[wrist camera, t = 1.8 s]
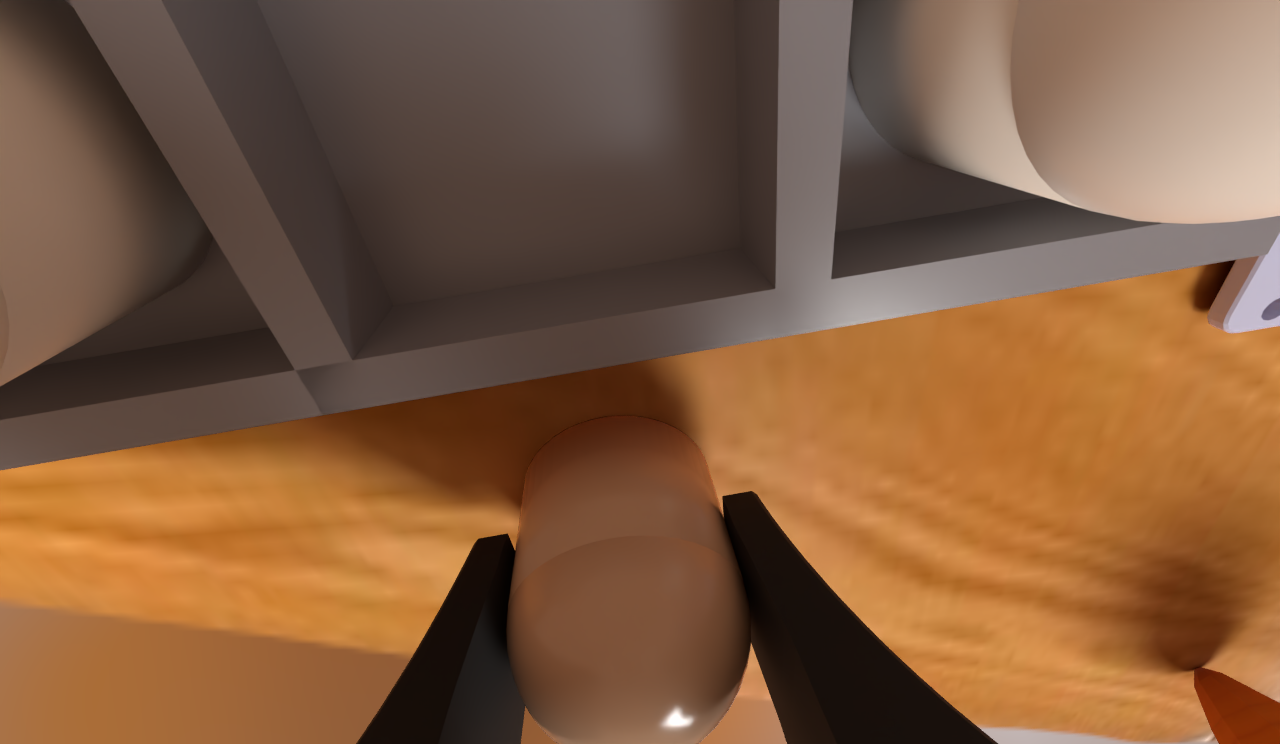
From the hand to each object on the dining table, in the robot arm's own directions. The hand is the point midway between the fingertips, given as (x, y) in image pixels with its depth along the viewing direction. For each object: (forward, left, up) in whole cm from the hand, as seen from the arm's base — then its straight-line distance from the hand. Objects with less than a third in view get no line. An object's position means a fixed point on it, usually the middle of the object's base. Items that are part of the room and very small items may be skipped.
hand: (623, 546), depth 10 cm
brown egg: (0, 0, -2) cm, 2 cm away
